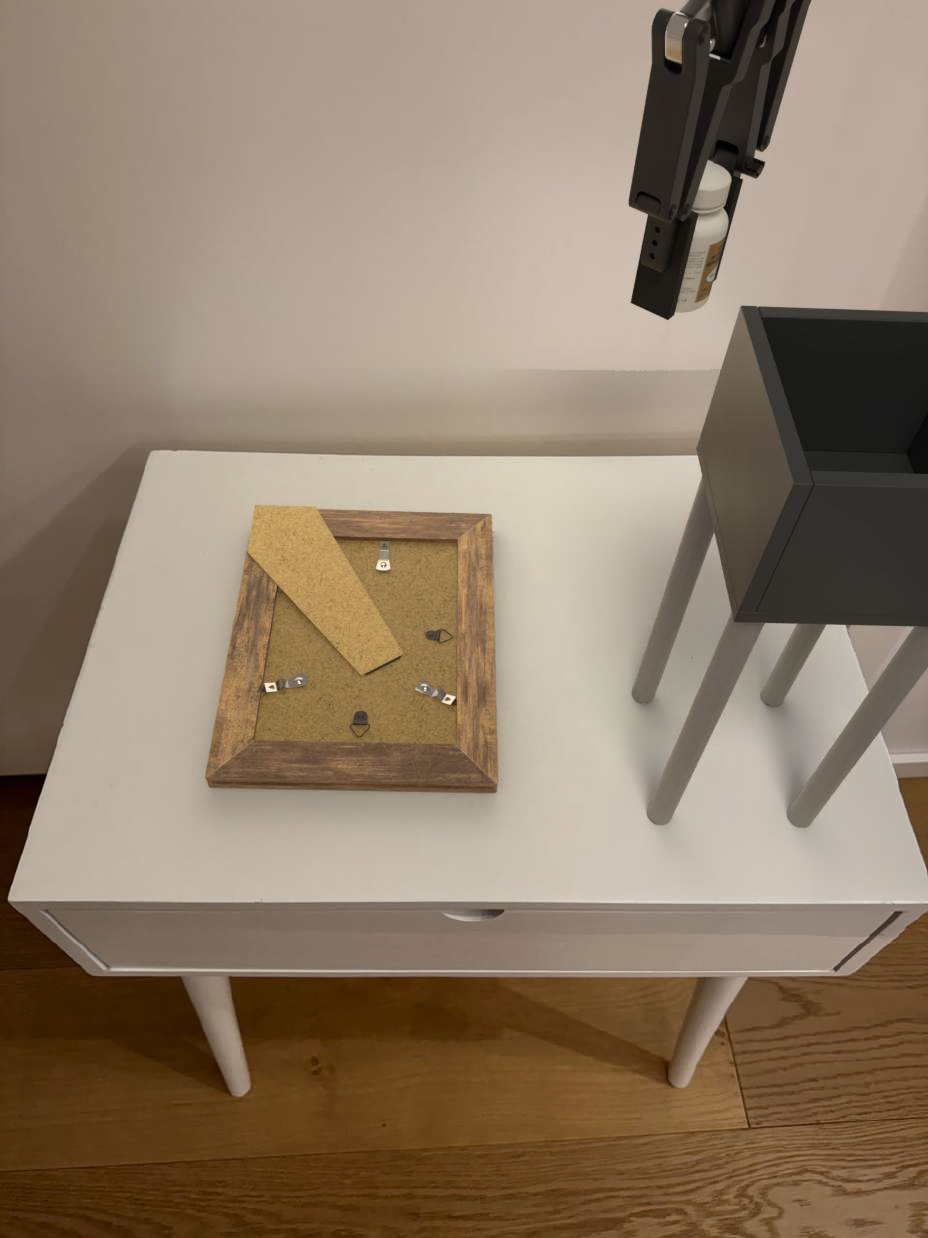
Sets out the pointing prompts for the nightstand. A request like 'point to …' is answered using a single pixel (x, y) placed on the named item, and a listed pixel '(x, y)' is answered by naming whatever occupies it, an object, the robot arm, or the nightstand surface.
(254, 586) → the picture frame
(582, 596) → the nightstand surface
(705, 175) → the pill bottle
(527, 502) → the nightstand surface
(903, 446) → the legged open box
